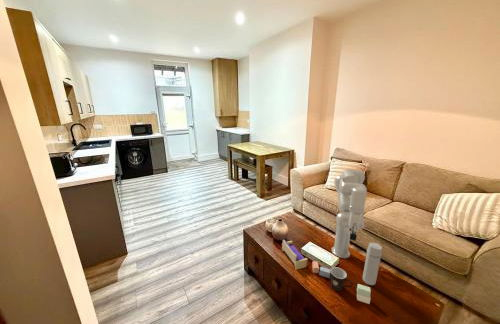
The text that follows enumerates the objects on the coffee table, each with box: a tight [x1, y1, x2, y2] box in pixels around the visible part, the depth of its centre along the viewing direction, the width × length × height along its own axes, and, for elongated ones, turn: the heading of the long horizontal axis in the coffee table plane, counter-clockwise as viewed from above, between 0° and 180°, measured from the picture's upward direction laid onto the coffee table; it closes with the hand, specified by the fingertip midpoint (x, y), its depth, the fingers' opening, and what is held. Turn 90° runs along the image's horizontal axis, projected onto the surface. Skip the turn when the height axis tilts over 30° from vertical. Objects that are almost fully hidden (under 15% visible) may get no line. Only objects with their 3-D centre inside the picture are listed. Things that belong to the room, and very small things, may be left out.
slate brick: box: [318, 266, 331, 279], centre depth 128 cm, size 6×3×4 cm, turn 63°
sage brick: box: [356, 283, 372, 298], centre depth 111 cm, size 6×3×4 cm, turn 66°
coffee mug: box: [330, 266, 353, 292], centre depth 118 cm, size 12×9×10 cm
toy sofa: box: [281, 239, 309, 270], centre depth 142 cm, size 21×9×10 cm, turn 19°
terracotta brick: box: [311, 260, 320, 274], centre depth 133 cm, size 6×3×4 cm, turn 171°
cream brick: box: [356, 293, 372, 305], centre depth 112 cm, size 6×3×4 cm, turn 66°
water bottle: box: [362, 242, 383, 286], centre depth 122 cm, size 9×8×25 cm
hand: (352, 235), depth 119 cm, fingers open, 9 cm apart
